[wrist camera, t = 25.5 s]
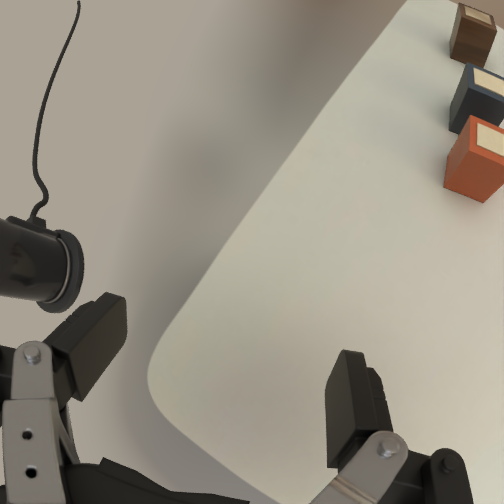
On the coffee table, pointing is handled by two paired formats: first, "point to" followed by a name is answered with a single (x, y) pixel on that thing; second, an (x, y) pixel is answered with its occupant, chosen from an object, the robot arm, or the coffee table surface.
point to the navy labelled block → (477, 98)
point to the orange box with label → (476, 160)
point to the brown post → (472, 36)
